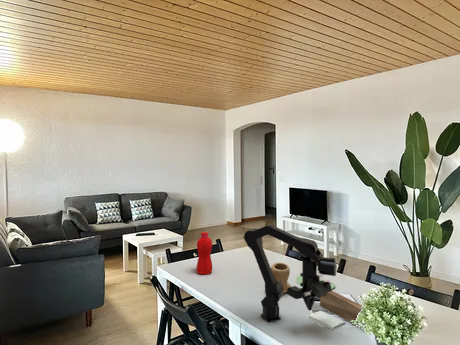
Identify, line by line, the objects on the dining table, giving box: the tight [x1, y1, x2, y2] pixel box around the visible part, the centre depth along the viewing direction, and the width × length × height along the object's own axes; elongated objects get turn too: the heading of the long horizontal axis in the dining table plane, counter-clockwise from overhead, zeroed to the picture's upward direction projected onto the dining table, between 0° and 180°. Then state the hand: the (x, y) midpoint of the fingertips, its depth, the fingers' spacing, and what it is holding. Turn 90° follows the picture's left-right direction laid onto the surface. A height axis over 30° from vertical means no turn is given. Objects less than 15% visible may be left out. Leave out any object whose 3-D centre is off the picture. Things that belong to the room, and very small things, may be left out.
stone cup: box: [270, 262, 293, 294], centre depth 159 cm, size 15×12×15 cm
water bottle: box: [196, 232, 213, 276], centre depth 188 cm, size 9×11×25 cm
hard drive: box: [308, 310, 346, 331], centre depth 129 cm, size 2×8×12 cm
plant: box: [294, 271, 336, 290], centre depth 171 cm, size 25×21×9 cm
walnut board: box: [319, 289, 363, 323], centre depth 132 cm, size 3×26×8 cm, turn 26°
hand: (309, 310), depth 124 cm, fingers closed
